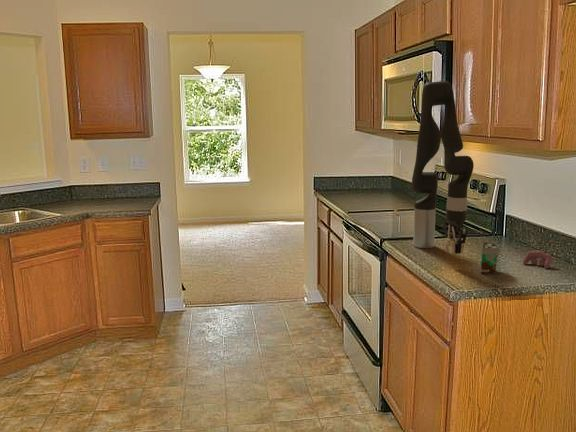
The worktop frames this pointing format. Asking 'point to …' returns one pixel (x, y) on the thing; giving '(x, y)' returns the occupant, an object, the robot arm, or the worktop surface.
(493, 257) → the food container
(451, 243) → the birch cube
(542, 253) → the pink toy figure
